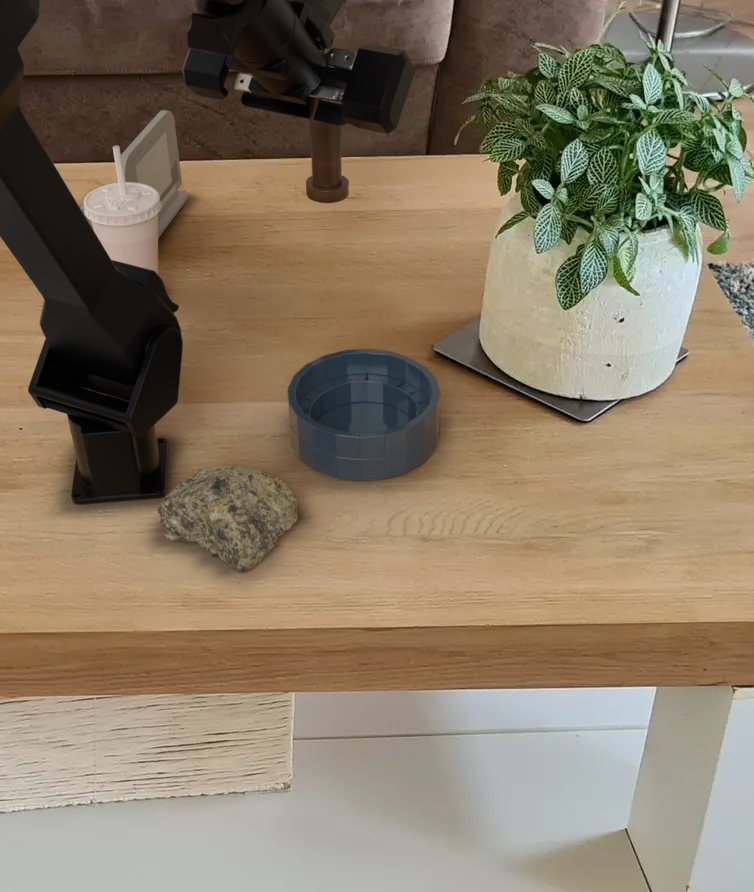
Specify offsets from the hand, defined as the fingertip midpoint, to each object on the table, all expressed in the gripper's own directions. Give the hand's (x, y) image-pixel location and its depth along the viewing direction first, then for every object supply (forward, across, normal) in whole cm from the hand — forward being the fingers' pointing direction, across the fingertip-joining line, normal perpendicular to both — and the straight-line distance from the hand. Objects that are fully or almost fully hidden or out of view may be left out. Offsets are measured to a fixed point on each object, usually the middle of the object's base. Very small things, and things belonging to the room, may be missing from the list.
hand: (332, 117), depth 101 cm
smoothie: (+1, +13, +20) cm, 24 cm away
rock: (-15, -11, +36) cm, 41 cm away
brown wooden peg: (+4, 0, +6) cm, 7 cm away
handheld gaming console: (+9, +22, +12) cm, 27 cm away
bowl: (-6, -14, +26) cm, 31 cm away
